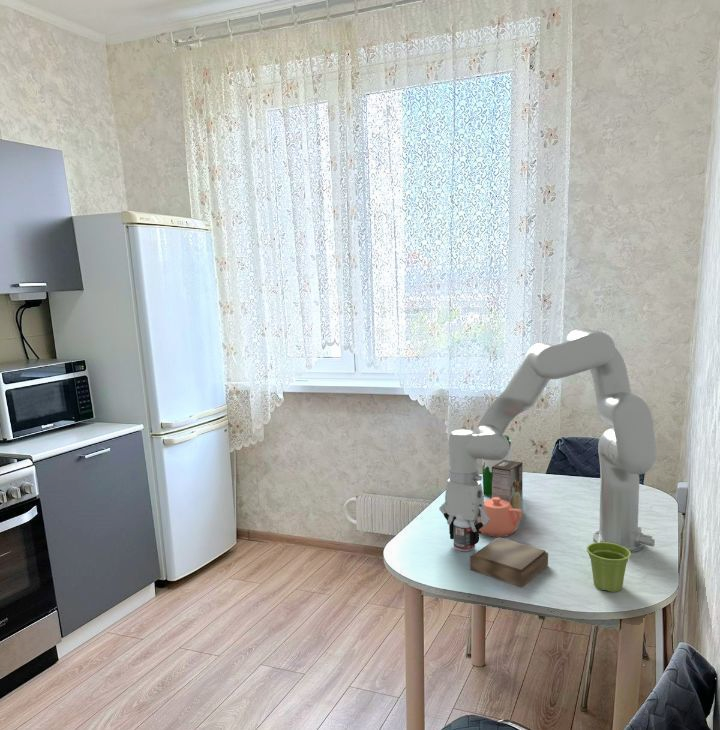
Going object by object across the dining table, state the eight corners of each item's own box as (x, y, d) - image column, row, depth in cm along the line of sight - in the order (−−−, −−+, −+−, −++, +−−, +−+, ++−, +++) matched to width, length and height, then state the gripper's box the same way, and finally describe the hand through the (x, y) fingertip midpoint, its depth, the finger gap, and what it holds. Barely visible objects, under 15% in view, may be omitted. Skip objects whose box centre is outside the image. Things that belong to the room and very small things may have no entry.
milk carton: (505, 499, 194) (505, 440, 191) (479, 495, 198) (479, 437, 196) (513, 491, 201) (513, 434, 199) (488, 487, 206) (487, 431, 203)
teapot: (512, 544, 160) (512, 510, 159) (456, 527, 172) (455, 496, 171) (532, 529, 169) (532, 498, 168) (477, 515, 181) (477, 485, 180)
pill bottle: (470, 553, 155) (469, 517, 154) (450, 549, 158) (449, 514, 157) (478, 545, 160) (477, 510, 159) (458, 541, 163) (458, 507, 162)
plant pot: (577, 580, 140) (578, 545, 138) (610, 573, 142) (610, 539, 141) (605, 599, 131) (605, 562, 130) (639, 591, 134) (640, 555, 132)
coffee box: (503, 507, 186) (503, 458, 184) (523, 511, 183) (523, 462, 181) (491, 517, 179) (491, 466, 177) (511, 521, 175) (511, 469, 173)
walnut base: (548, 565, 147) (548, 550, 147) (522, 587, 137) (522, 571, 136) (498, 550, 157) (498, 536, 156) (470, 569, 146) (470, 554, 146)
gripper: (499, 478, 153) (499, 544, 156) (444, 467, 165) (445, 528, 167) (484, 486, 148) (485, 554, 150) (429, 474, 159) (430, 537, 162)
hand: (464, 540), depth 159 cm, fingers closed on pill bottle, 5 cm apart
